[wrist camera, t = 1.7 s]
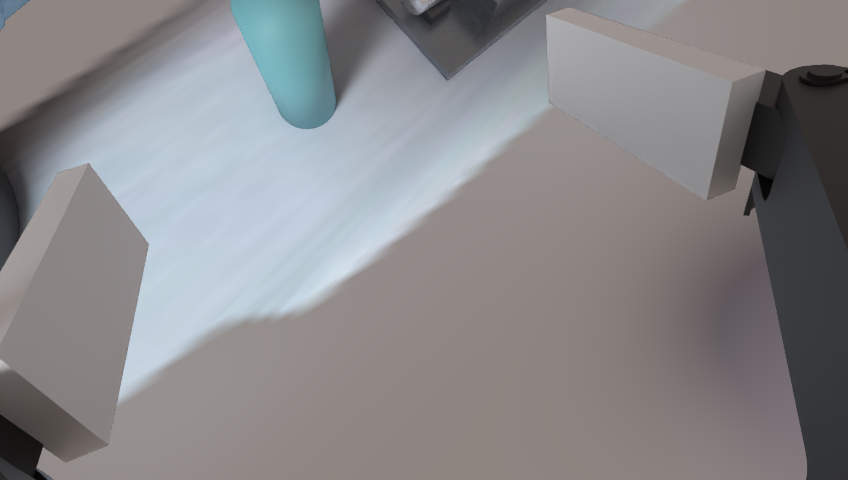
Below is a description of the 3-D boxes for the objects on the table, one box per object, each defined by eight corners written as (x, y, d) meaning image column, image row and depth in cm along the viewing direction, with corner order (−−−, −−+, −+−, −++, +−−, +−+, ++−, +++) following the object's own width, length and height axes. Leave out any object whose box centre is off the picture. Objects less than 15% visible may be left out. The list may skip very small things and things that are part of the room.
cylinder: (282, 133, 36) (238, 48, 24) (272, 77, 36) (224, -32, 24) (340, 124, 36) (326, 36, 24) (330, 69, 37) (311, -42, 25)
